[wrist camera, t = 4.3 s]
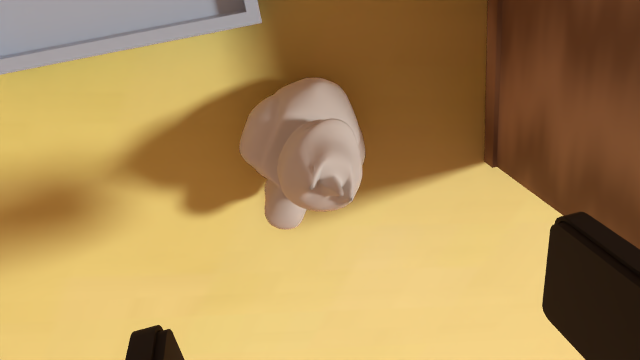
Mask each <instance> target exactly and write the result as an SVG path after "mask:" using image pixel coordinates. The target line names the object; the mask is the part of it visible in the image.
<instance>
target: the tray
mask: <svg viewBox="0 0 640 360" xmlns="http://www.w3.org/2000/svg"><path fill="white" fill-rule="evenodd" d="M259 23H262V20H261V15H260V10H259V6H258V1H257V0H0V74H5V73H10V72H15V71H20V70H26V69H31V68H36V67H41V66H46V65H51V64H56V63H61V62H66V61H71V60H76V59H81V58H86V57H92V56H97V55H102V54H107V53H112V52H117V51H122V50H127V49H132V48H137V47H142V46H147V45H152V44H158V43H163V42H168V41H173V40H178V39H183V38H188V37H193V36H198V35H203V34H208V33H213V32H218V31H224V30H229V29H234V28H239V27H244V26H249V25H254V24H259Z"/></svg>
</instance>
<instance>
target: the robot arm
mask: <svg viewBox="0 0 640 360" xmlns="http://www.w3.org/2000/svg"><path fill="white" fill-rule="evenodd" d="M542 307H543V311H544V313H545V315H546V317H547V318H548V320H549V321H550V322H551V323H552V324H553V325H554V326H555V327H556V328H557V329H558V331H559V332H560V333H561V334H562V335H563V336H564V337H565V338H566V339H567V340H568V341H569V342H570V343H571V345H572V346H573V347H574V348H575V349H576V350H577V351H578V352H579V353H580V354H581V355H582V356H583V357H584V358H585V360H640V249H638V248H637V247H636V246H634V245H633V244H631V243H630V242H628V241H627V240H625V239H624V238H622V237H621V236H619V235H618V234H616V233H615V232H613V231H612V230H611V229H609V228H608V227H606V226H605V225H603V224H602V223H600V222H599V221H597V220H596V219H594V218H593V217H591V216H590V215H588V214H587V213H585V212H576V213H573V214H569V215H565V216H561V217H559V218H557V219H556V221H555V224H554V225H552V227H551V229H550V237H549V246H548V256H547V265H546V275H545V284H544V293H543V303H542ZM125 360H184V358H183V356H182V353H181V351H180V349H179V346H178V344H177V342H176V339H175V337H174V335H173V333H172V331H171V330H170V329H167V330H163V329H162V327H161V326H160V325H157V326H153V327H149V328H145V329H142V330H138V331H134V332H133V333H132V334H131V337H130V341H129V346H128V350H127V355H126V359H125Z"/></svg>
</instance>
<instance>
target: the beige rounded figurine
mask: <svg viewBox="0 0 640 360" xmlns="http://www.w3.org/2000/svg"><path fill="white" fill-rule="evenodd" d="M239 150H240V154H241V156H242V157H243V159H244V160H245V161H246V162H247V163H248V164H250V165H251V166H252V167H254V168H255V170H256V171H257V172H258V173H259V174H261V175H262V176H263V177H265V178H267V181H266V184H265V216H266V219H267V220H268V222H269V223H270V224H271V225H272V226H274V227H276V228H279V229H292V228H295V227H297V226H298V225H299V224H300V223H301V221H302V219H303V217H304V215H305V212H306V210H312V211H332V210H337V209H340V208H343V207H345V206H346V205H348V204H349V203H350V202H352V201H353V199H354V196H355V195H356V193H357V190H358V189H359V186H360V183H361V179H362V165H363V162H364V160H365V144H364V139H363V135H362V132H361V130H360V127H359V126H358V122H357V119H356V116H355V113H354V111H353V109H352V106H351V104H350V102H349V99H348V97H347V95H346V94H345V92H344V91H343V89H342V88H341V87H340V86H339V85H337V84H336V83H334V82H331V81H329V80H326V79H323V78H304V79H301V80H298V81H296V82H293V83H291V84H289V85H286V86H284V87H282V88H280V89H279V90H278V91H276V93H275V94H274V95H271V96H269V97H267V98H266V99H264V100H263V101H261V102H260V103H259V104H258V105H257V106H256V107H254V109H253V110H252V111H251V112H250V114H249V116H248V118H247V121H246V124H245V127H244V130H243V133H242V135H241V139H240V145H239Z"/></svg>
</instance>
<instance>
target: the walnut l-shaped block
mask: <svg viewBox="0 0 640 360" xmlns="http://www.w3.org/2000/svg"><path fill="white" fill-rule="evenodd" d="M485 162H486V163H487V164H488V165H490V166H491V167H492V168H493V167H498V168H499V169H501V170H502V171H504V172H505V173H506V174H508V175H509V176H510V177H512V178H513V179H514V180H516V181H517V182H519V183H520V184H521V185H523V186H524V187H525V188H527V189H528V190H529V191H531V192H532V193H534V194H535V195H536V196H538V197H539V198H540V199H542V200H543V201H544V202H546V203H547V204H549V205H550V206H551V207H553V208H554V209H555V210H557V211H558V212H559V213H561V214H562V215H564V216H565V215H569V214H573V213H576V212H585V213H587V214H588V215H590V216H591V217H593V218H594V219H596V220H597V221H599V222H600V223H602V224H603V225H605V226H606V227H608V228H609V229H611V230H612V231H613V232H615V233H616V234H618V235H619V236H621V237H622V238H624V239H625V240H627V241H628V242H630V243H631V244H633V245H634V246H636V247H637V248H638V249H640V0H488V13H487V63H486V113H485Z"/></svg>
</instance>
